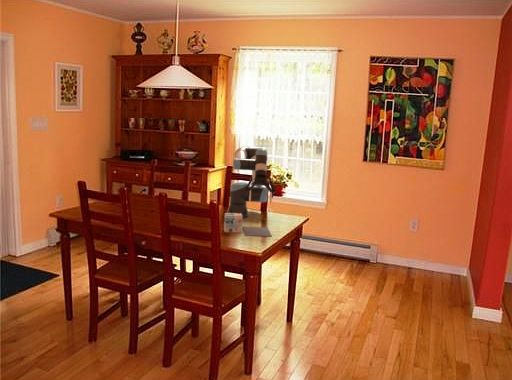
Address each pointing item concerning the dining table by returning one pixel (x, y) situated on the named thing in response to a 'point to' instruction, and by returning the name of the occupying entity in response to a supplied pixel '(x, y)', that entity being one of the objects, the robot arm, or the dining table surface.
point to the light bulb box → (233, 222)
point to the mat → (256, 231)
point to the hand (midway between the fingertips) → (260, 201)
